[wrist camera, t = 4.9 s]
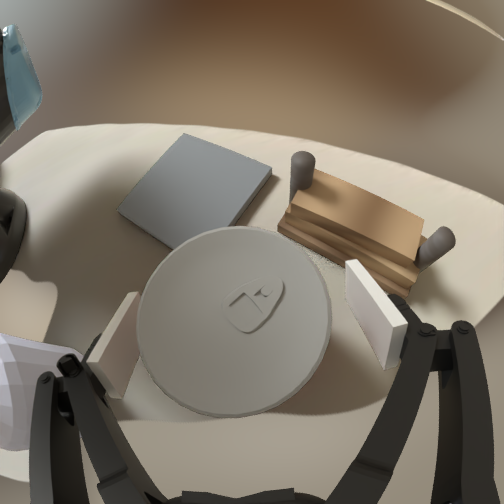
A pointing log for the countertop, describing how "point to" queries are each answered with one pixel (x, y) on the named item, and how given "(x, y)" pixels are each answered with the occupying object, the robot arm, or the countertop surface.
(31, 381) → the soap bottle
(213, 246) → the canned food
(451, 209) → the countertop surface
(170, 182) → the slate mat
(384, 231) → the offcut rack
